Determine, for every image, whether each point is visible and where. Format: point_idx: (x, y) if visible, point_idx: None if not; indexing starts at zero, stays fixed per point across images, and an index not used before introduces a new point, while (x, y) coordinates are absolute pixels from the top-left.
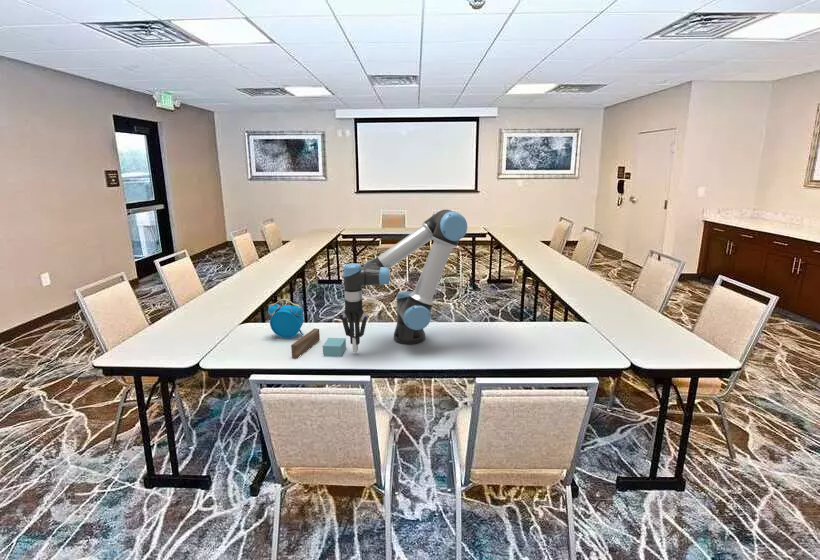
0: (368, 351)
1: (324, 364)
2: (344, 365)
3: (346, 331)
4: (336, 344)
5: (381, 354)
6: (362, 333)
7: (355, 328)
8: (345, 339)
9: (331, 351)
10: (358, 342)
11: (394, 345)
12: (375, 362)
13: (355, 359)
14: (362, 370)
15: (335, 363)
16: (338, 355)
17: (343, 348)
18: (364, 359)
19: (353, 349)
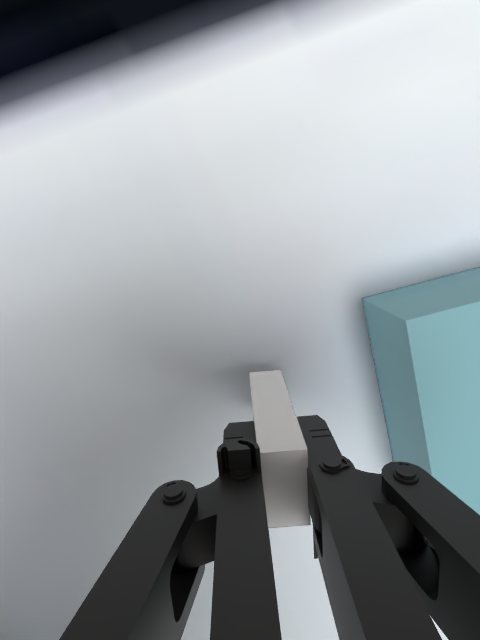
0: (186, 463)
1: (440, 73)
2: (244, 118)
3: (445, 514)
4: (476, 357)
5: (56, 442)
6: (133, 537)
7: (265, 604)
8: None
9: (476, 281)
10: (225, 438)
11: (54, 616)
12: (12, 277)
13: (211, 280)
14: (23, 62)
15: (346, 134)
16: (389, 294)
17: (393, 402)
18: (136, 306)
19: (275, 381)
